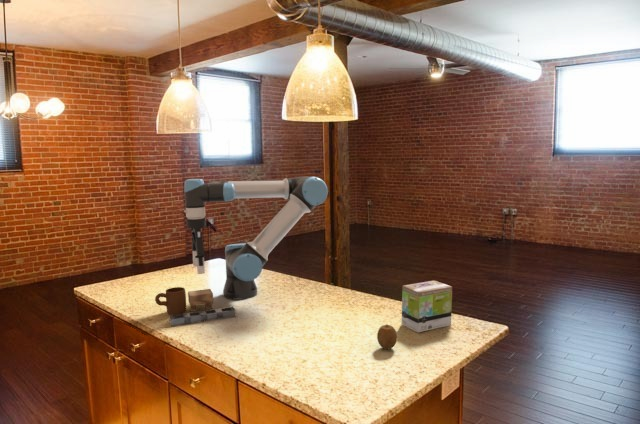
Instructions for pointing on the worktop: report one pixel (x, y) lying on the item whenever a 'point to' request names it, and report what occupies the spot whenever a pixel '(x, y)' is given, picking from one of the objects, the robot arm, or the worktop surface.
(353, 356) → the worktop surface
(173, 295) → the mug
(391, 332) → the fruit
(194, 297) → the tan cardboard box
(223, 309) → the rail
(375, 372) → the worktop surface
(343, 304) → the worktop surface
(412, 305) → the tea box
